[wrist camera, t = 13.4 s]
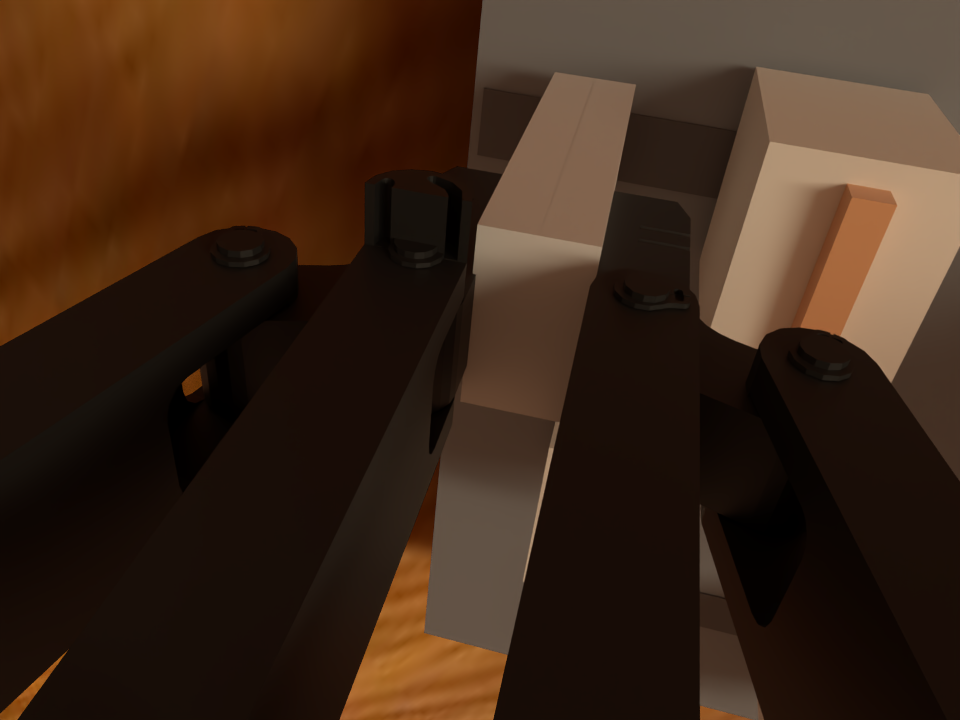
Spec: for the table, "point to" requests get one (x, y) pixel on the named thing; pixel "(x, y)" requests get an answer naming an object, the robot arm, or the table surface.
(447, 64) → the table surface
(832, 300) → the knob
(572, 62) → the switch unit
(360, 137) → the table surface
